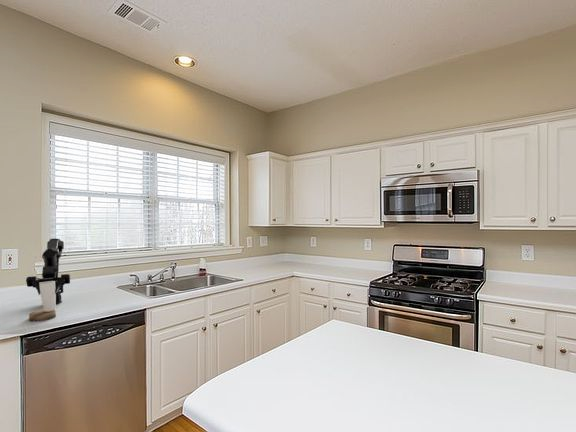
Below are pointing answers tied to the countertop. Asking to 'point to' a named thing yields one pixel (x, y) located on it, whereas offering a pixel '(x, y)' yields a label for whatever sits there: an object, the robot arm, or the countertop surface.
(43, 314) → the walnut pedestal
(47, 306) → the drinking glass
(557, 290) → the countertop surface
